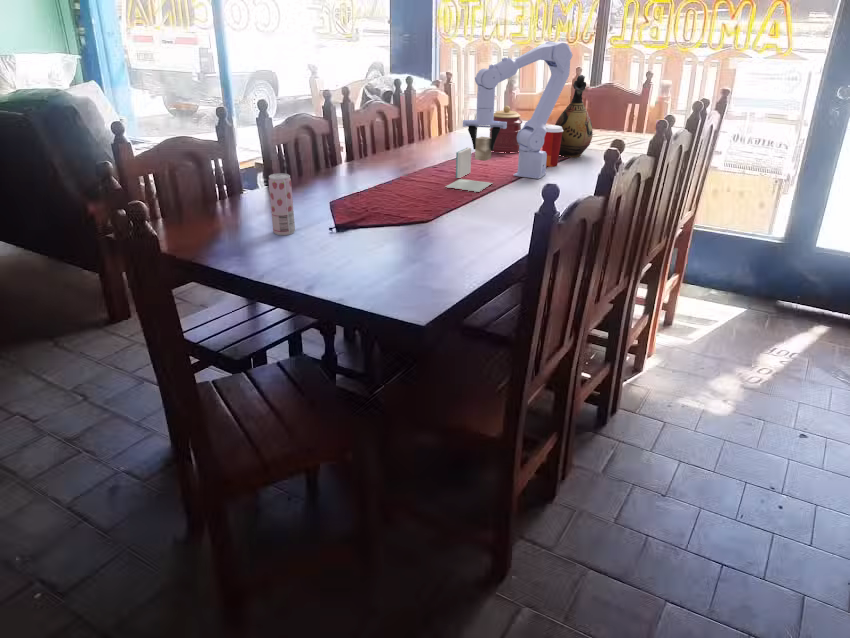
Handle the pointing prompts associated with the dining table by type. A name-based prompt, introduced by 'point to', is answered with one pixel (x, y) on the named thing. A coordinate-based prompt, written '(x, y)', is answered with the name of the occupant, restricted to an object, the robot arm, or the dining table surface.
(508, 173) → the dining table surface
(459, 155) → the tile
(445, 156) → the dining table surface
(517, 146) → the canister
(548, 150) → the paper cup
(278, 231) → the beverage can
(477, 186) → the mat
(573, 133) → the ceramic jug
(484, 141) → the pusher block
